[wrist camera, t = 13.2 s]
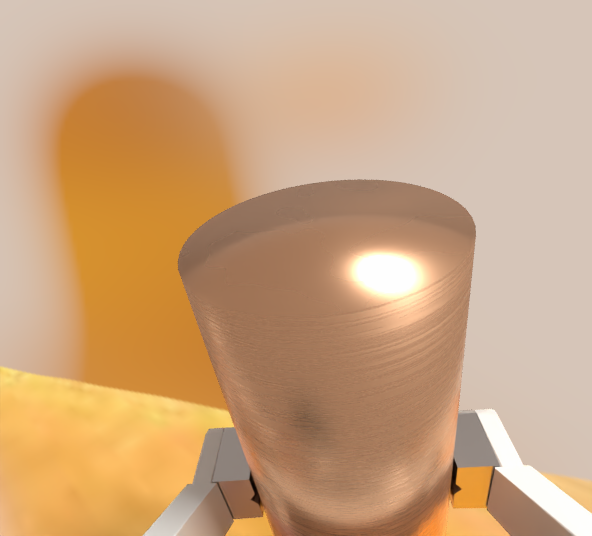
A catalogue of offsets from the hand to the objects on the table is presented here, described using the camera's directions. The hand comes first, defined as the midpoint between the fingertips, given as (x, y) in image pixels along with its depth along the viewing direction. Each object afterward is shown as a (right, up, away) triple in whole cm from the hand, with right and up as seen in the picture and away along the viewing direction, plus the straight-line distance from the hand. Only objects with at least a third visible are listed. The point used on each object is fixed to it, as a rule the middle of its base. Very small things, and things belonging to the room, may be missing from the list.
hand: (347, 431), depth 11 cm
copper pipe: (+1, -8, +4) cm, 9 cm away
